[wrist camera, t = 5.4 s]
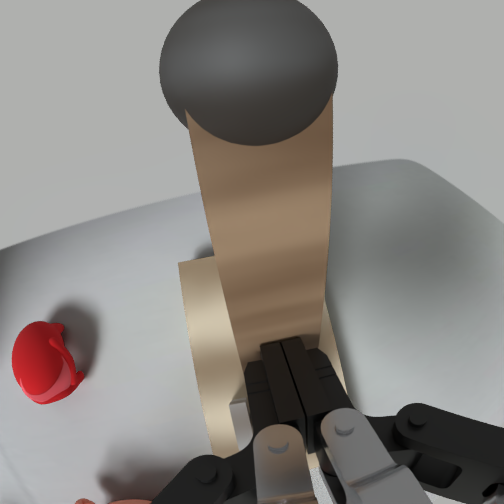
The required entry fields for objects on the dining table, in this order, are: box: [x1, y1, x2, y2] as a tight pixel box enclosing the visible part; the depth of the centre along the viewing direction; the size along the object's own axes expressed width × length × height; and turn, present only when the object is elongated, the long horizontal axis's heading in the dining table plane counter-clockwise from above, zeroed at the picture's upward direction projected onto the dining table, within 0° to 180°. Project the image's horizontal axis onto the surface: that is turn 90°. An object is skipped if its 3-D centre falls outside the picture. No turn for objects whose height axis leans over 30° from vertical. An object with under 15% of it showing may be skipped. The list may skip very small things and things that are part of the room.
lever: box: [159, 0, 338, 374], centre depth 11 cm, size 4×4×20 cm
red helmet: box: [12, 321, 84, 404], centre depth 20 cm, size 8×6×6 cm
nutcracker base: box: [178, 256, 347, 469], centre depth 20 cm, size 18×10×6 cm, turn 12°
